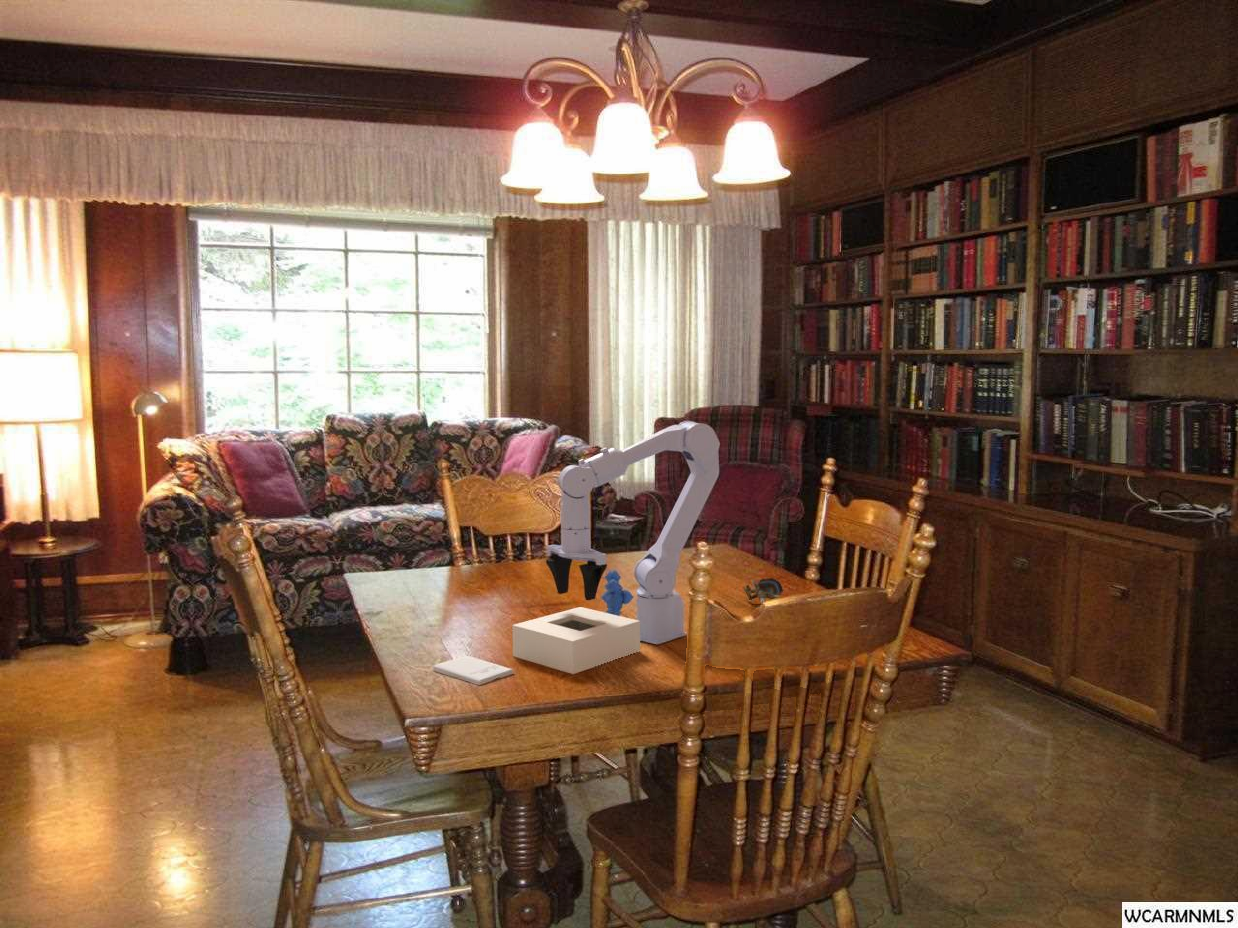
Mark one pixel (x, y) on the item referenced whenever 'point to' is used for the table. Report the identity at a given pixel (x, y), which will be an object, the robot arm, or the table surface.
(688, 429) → the robot arm
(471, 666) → the external hard drive
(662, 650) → the table surface
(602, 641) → the box
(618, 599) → the grapes
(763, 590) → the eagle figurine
